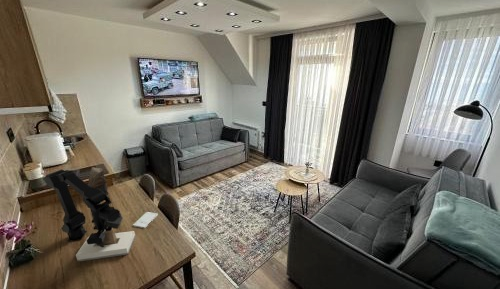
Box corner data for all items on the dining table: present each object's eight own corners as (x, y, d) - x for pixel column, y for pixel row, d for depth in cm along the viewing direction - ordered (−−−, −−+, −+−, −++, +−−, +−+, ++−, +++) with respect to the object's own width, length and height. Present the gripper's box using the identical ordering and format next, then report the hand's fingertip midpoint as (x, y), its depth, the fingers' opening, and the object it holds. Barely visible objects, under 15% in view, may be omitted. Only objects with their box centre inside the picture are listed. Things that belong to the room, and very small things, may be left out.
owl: (95, 190, 157) (88, 166, 150) (113, 188, 160) (108, 165, 154) (87, 199, 146) (80, 174, 139) (107, 197, 149) (101, 172, 142)
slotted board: (77, 261, 99) (75, 255, 98) (90, 242, 110) (88, 236, 109) (127, 254, 104) (126, 248, 102) (135, 236, 115) (134, 230, 113)
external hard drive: (157, 215, 133) (145, 229, 121) (146, 213, 134) (132, 226, 123) (157, 213, 132) (144, 226, 121) (146, 211, 134) (132, 224, 122)
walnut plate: (98, 249, 105) (94, 235, 102) (100, 245, 107) (96, 232, 104) (115, 247, 106) (112, 233, 103) (117, 243, 109) (114, 230, 106)
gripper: (110, 226, 93) (116, 253, 98) (124, 202, 110) (129, 225, 116) (82, 230, 91) (90, 256, 96) (101, 204, 108) (107, 228, 113)
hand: (106, 240), depth 105 cm, fingers open, 8 cm apart
